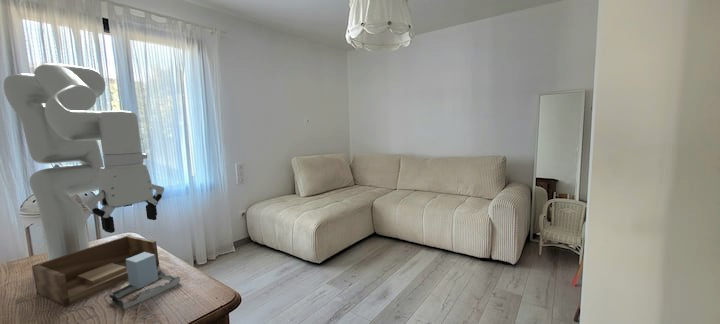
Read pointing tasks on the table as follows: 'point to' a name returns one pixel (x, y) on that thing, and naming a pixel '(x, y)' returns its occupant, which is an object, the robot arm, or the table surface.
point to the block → (141, 269)
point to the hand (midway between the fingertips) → (132, 225)
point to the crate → (88, 269)
